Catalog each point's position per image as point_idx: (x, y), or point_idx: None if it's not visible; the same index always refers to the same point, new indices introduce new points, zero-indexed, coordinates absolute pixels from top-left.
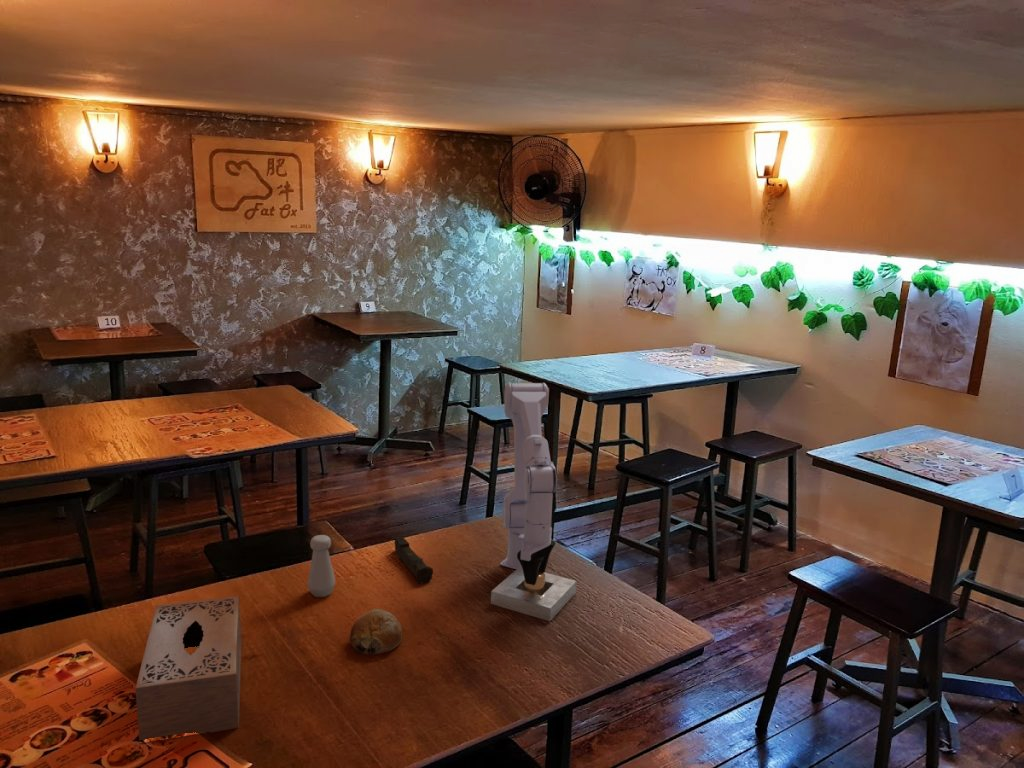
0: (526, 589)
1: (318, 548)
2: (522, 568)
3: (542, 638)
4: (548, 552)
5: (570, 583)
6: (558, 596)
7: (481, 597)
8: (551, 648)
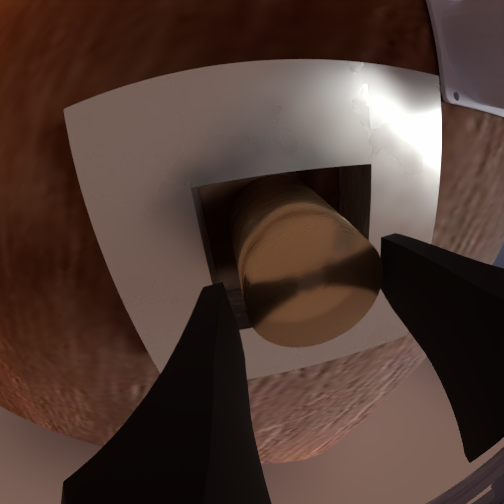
0: (238, 236)
1: None
2: (157, 379)
3: (94, 369)
4: (456, 406)
5: (384, 335)
6: (266, 369)
7: (117, 35)
8: (89, 392)
